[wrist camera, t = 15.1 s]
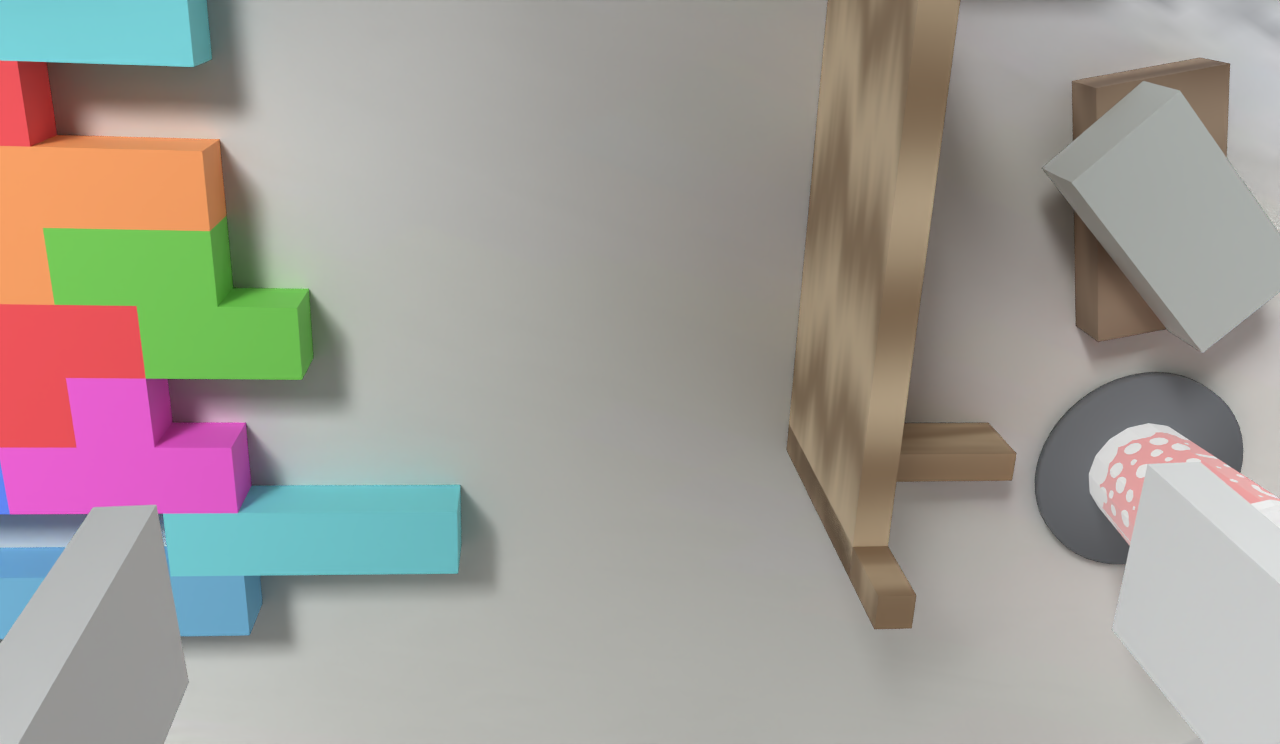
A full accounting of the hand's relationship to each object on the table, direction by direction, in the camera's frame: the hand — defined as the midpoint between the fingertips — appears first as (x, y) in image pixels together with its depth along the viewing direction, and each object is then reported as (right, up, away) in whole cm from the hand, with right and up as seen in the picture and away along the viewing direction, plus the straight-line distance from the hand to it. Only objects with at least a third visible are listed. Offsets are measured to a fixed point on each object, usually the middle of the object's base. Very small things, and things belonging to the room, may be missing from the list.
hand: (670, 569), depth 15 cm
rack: (+10, +10, +29) cm, 32 cm away
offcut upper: (+19, +9, +28) cm, 35 cm away
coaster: (+21, -2, +34) cm, 40 cm away
